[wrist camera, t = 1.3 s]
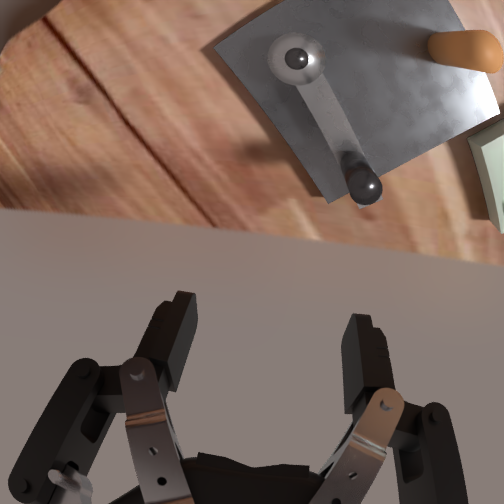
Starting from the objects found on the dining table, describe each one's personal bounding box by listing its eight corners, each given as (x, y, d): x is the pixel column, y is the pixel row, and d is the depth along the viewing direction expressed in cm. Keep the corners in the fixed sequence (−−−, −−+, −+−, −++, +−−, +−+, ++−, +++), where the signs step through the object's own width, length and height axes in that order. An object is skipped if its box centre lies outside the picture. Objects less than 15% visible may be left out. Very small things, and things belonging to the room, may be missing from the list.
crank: (259, 49, 21) (247, 45, 16) (306, 26, 20) (310, 14, 14) (347, 205, 29) (358, 246, 23) (388, 187, 27) (410, 225, 21)
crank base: (217, 48, 23) (213, 47, 22) (404, -50, 14) (409, -54, 13) (326, 197, 30) (328, 203, 29) (492, 109, 21) (500, 112, 20)
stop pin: (421, 38, 18) (461, 36, 12) (447, 28, 17) (491, 25, 11) (438, 70, 20) (481, 79, 14) (463, 58, 18) (509, 66, 12)
